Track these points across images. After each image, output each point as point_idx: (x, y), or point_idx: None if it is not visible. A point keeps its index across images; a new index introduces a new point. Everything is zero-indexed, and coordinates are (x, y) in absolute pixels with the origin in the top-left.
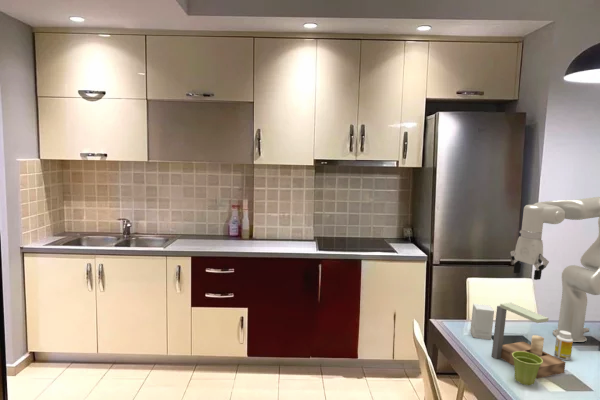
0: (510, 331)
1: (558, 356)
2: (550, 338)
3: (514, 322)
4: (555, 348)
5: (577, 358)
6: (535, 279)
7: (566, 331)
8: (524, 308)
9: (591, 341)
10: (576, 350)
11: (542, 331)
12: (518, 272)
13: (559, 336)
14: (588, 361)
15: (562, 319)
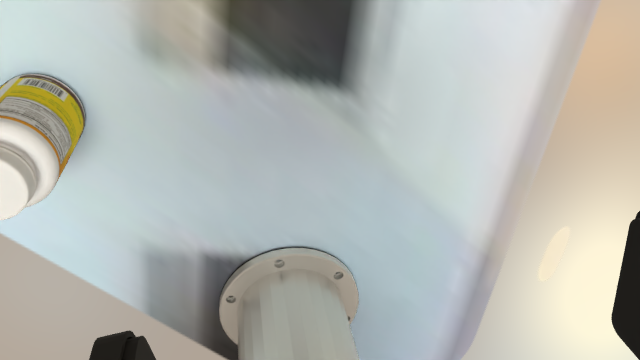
0: (409, 53)
1: (14, 78)
2: (289, 213)
3: (503, 163)
4: (38, 92)
5: None
6: (101, 346)
7: (8, 208)
8: None
9: None
10: (144, 242)
11: (372, 229)
12: (619, 295)
13: (7, 142)
14: None
15: (301, 332)
